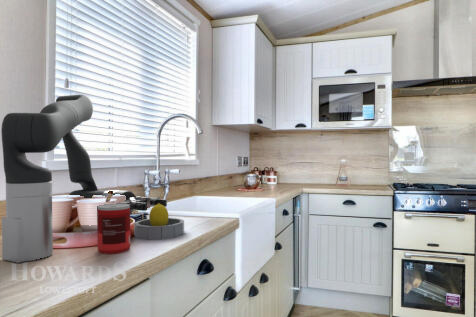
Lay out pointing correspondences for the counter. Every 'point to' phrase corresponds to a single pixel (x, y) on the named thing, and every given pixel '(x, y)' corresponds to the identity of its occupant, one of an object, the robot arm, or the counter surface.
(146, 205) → the robot arm
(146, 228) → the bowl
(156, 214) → the lemon
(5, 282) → the counter surface
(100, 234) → the canned food
